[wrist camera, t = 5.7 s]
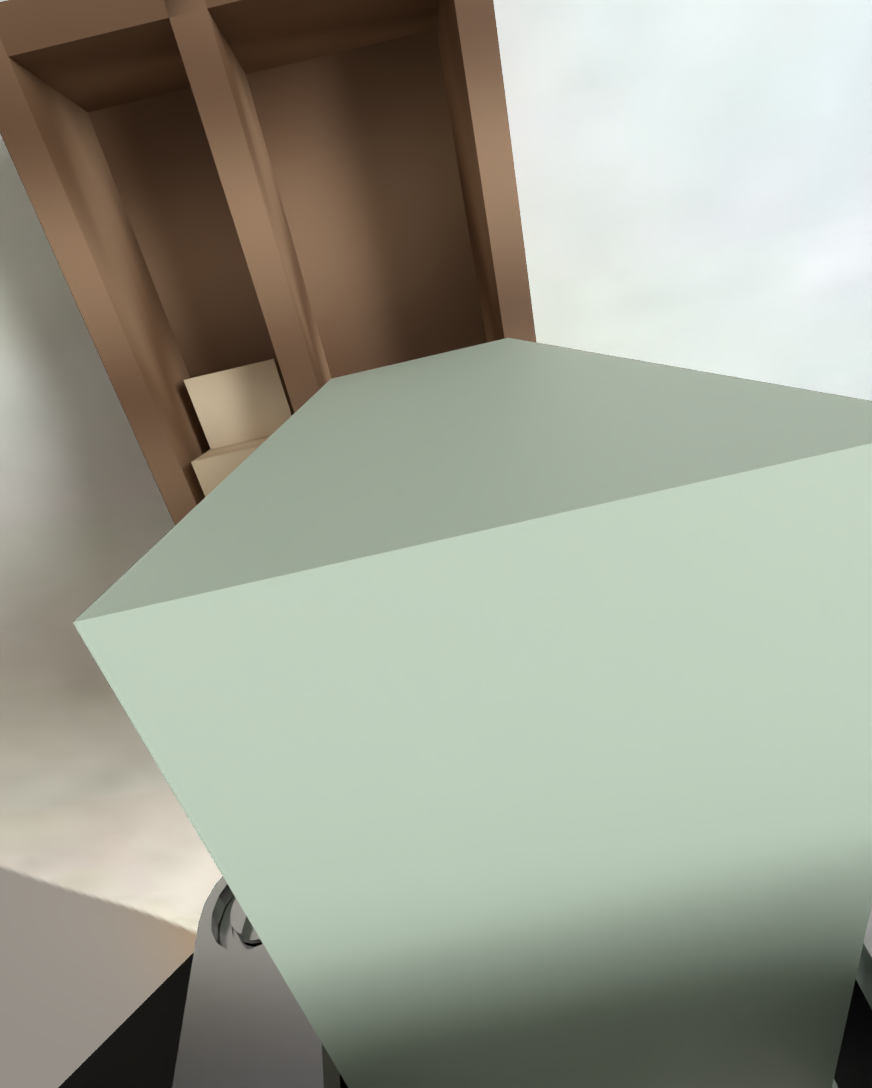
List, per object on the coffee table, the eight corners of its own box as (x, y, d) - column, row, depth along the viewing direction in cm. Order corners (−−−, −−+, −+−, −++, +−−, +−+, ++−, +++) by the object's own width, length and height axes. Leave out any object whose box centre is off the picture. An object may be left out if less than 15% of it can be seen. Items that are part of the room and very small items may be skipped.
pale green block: (331, 378, 11) (72, 623, 2) (508, 338, 11) (977, 419, 2) (435, 745, 16) (488, 1324, 7) (562, 717, 16) (793, 1265, 7)
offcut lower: (202, 375, 16) (183, 380, 14) (284, 356, 16) (273, 358, 14) (294, 619, 20) (286, 643, 18) (362, 604, 19) (359, 627, 18)
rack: (69, 100, 14) (-53, 14, 10) (455, 7, 14) (478, -115, 10) (350, 811, 25) (341, 899, 21) (567, 763, 25) (599, 843, 21)
